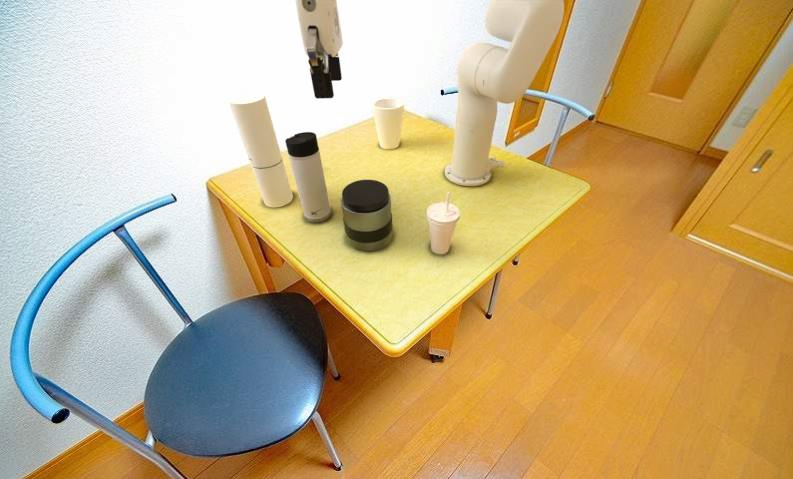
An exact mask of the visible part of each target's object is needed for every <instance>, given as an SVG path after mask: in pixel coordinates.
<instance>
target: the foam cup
mask: <svg viewBox="0 0 793 479" xmlns="http://www.w3.org/2000/svg"><path fill="white" fill-rule="evenodd" d="M371 106H372V107H371V108H372V109H371V110H372V114H373V118H374V119H373V120H374V123H375V129H376V133H377V139H378V144H379V147H380V148H381V149H384V150H393V149H396V148H399V147H400V141H401V134H402V126H403V116H404V112H405V102H404V101H403V100H402V99H399V98H393V97H384V98H379V99H378V98H377V99H376V100H374V101H372V104H371Z"/></svg>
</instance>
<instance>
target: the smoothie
mask: <svg viewBox="0 0 793 479" xmlns="http://www.w3.org/2000/svg"><path fill="white" fill-rule="evenodd" d="M450 197H451V192H450V191H447V192H446V197H445V200H446V201H445V202H444V201H442V202H440V201H438V202H435V203H432V204H430V205H429V206H428V207H427V210H426V218H427V221H428V228H429V229H428V230H429V241H430V250H431V252H432V253H434V254H436V255H445V254H447V253H448V252H449V250H450V246H451V244H452V240H453V237H454V233H455V231H456V226H457V223H458V222H459V220H460V218H461V210H460V209H459V207H457V205H454V204H453V203H450V199H451V198H450Z"/></svg>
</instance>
